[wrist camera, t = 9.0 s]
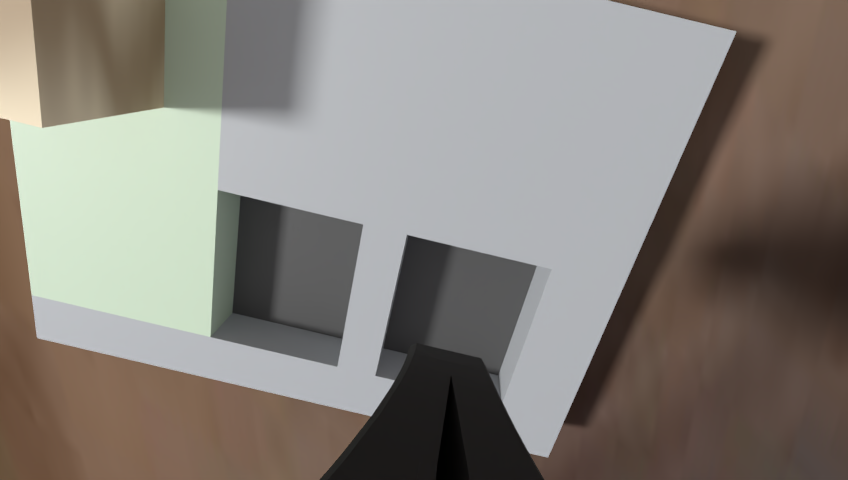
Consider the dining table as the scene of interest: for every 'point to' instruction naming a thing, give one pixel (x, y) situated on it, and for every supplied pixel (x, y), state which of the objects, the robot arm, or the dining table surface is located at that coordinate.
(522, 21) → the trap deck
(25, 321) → the dining table surface
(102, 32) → the maple block
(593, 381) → the dining table surface
